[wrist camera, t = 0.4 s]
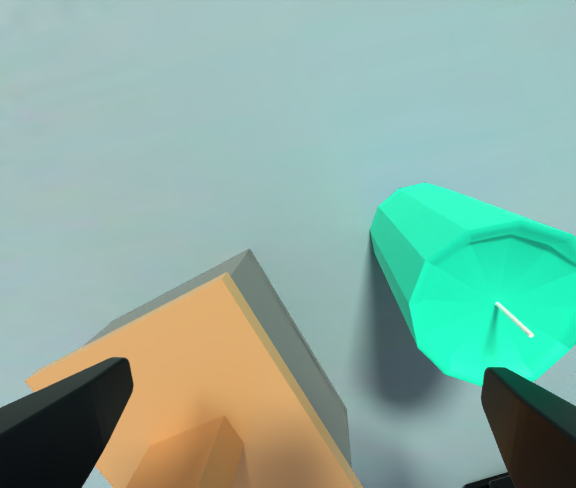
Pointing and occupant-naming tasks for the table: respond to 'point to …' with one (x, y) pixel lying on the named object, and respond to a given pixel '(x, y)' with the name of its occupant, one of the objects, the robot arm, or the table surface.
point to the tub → (278, 330)
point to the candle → (477, 282)
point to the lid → (208, 402)
